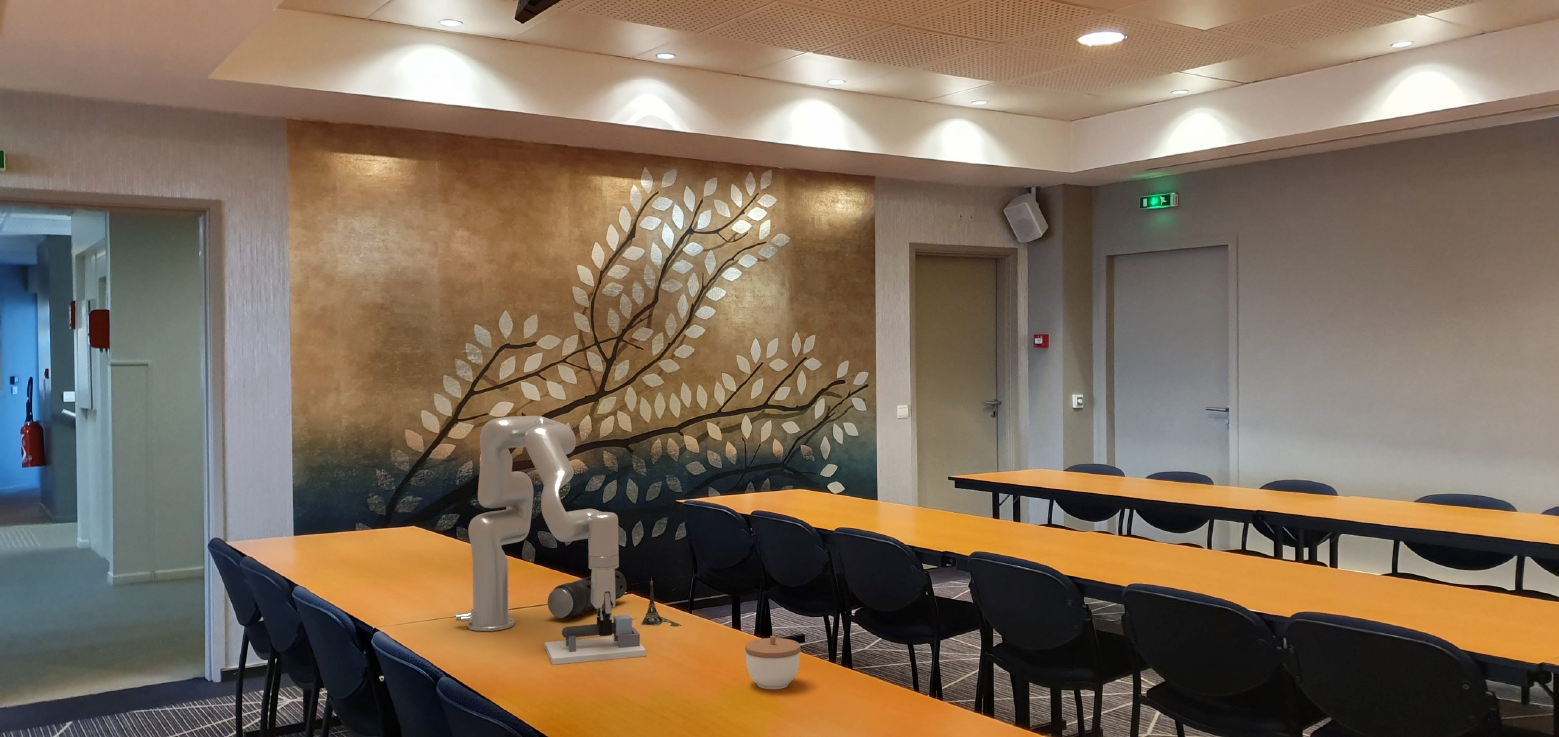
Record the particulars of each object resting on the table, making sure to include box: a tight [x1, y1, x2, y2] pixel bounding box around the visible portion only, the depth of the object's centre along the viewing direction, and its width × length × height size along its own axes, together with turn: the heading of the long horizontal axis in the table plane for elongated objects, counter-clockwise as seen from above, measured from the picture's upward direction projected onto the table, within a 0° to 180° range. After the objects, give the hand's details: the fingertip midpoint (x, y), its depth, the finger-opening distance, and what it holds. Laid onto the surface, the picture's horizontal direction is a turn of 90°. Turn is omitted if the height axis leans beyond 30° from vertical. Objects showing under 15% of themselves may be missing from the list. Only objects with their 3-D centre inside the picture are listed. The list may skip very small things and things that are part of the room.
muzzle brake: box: [547, 569, 628, 619], centre depth 322 cm, size 10×28×10 cm, turn 155°
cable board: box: [544, 626, 647, 666], centre depth 278 cm, size 23×16×5 cm
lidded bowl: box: [744, 635, 802, 691], centre depth 250 cm, size 13×13×11 cm
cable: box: [561, 614, 633, 639], centre depth 278 cm, size 17×4×4 cm, turn 109°
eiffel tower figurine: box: [632, 577, 681, 627], centre depth 308 cm, size 15×10×13 cm
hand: (604, 633), depth 279 cm, fingers closed on cable, 2 cm apart
